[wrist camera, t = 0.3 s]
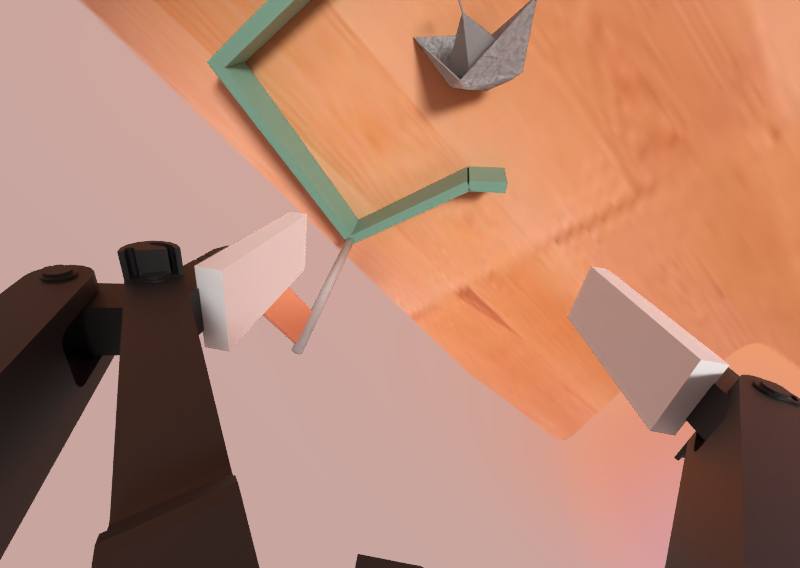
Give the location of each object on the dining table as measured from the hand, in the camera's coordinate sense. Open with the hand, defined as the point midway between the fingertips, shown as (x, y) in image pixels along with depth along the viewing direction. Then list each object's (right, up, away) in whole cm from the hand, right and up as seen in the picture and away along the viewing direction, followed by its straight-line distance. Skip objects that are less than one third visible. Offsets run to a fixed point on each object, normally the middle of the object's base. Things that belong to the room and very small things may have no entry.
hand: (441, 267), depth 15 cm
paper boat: (+5, +22, +15) cm, 28 cm away
